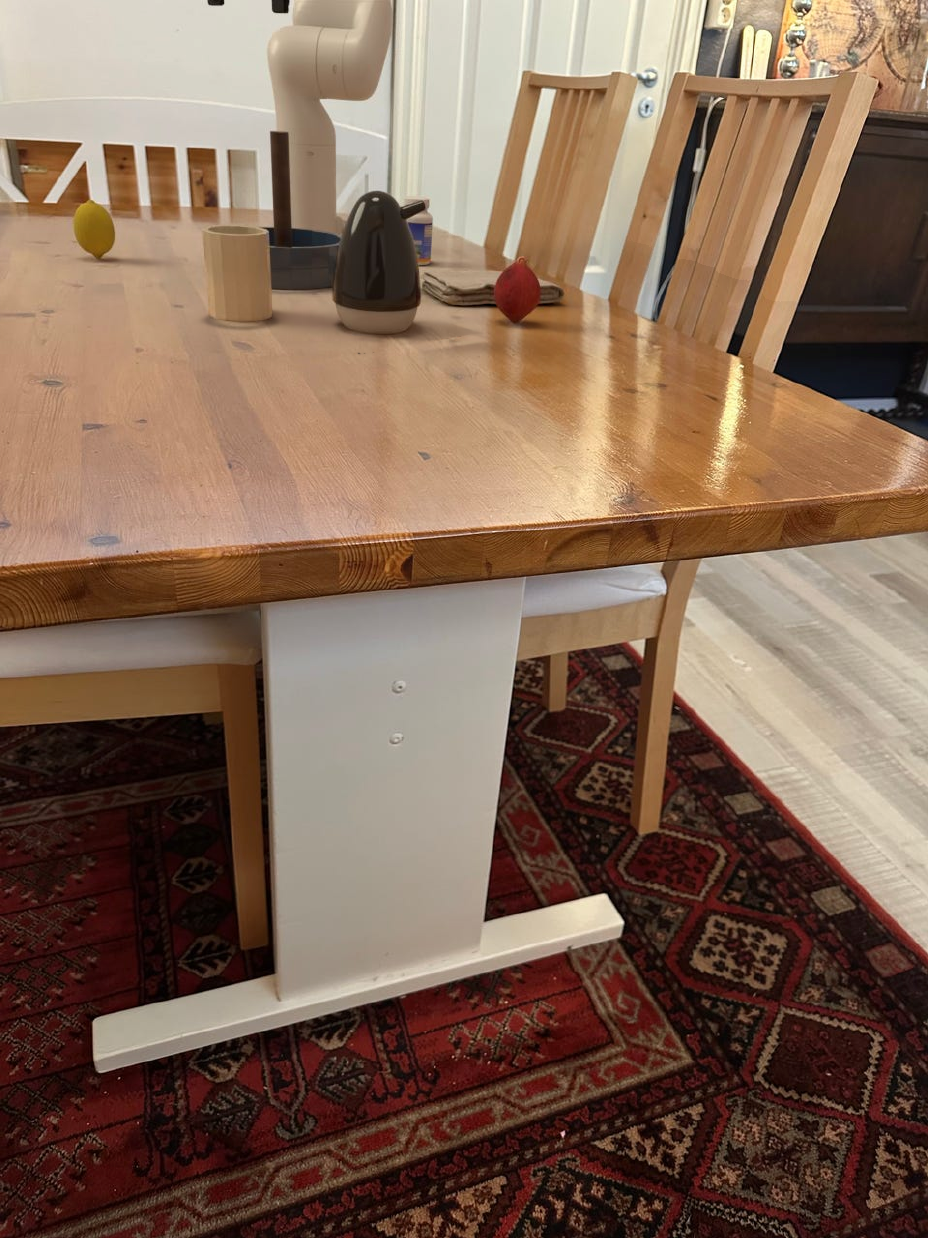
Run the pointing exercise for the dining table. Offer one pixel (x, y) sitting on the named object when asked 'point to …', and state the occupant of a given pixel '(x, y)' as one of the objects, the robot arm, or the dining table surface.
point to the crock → (238, 272)
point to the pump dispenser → (377, 266)
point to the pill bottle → (421, 230)
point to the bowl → (303, 260)
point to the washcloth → (476, 287)
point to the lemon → (94, 229)
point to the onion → (517, 291)
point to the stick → (281, 188)
